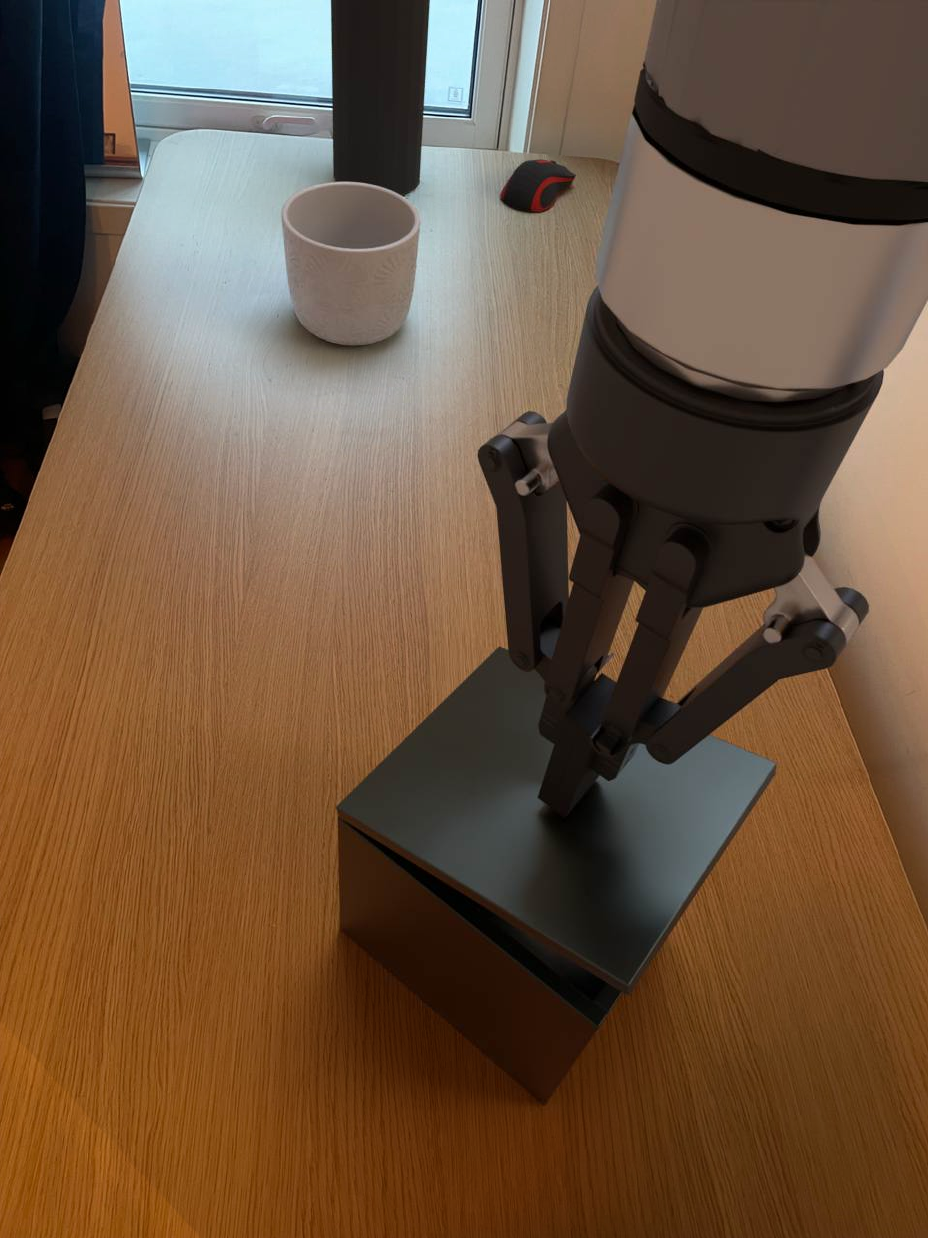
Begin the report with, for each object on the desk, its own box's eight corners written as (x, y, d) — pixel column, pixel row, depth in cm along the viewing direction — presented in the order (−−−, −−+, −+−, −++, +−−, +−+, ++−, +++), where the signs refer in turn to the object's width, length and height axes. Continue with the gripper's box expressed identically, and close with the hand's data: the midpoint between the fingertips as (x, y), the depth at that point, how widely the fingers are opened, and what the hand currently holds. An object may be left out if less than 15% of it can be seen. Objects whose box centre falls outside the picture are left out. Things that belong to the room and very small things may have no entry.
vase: (339, 199, 107) (336, -127, 84) (327, 157, 113) (321, -158, 90) (427, 197, 109) (448, -122, 86) (410, 156, 115) (425, -152, 92)
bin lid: (776, 774, 42) (777, 762, 41) (628, 997, 35) (628, 986, 34) (500, 656, 50) (499, 645, 50) (338, 817, 43) (334, 806, 43)
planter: (278, 290, 94) (271, 183, 86) (397, 282, 97) (402, 177, 89) (299, 364, 87) (293, 255, 79) (428, 352, 90) (435, 246, 82)
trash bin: (664, 926, 56) (738, 818, 45) (544, 1106, 49) (598, 1029, 38) (472, 783, 61) (498, 656, 50) (339, 929, 54) (336, 817, 43)
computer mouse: (579, 183, 115) (586, 150, 112) (538, 217, 109) (543, 183, 106) (535, 167, 117) (540, 134, 114) (491, 199, 110) (495, 165, 107)
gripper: (1046, 364, 23) (737, 817, 41) (603, 170, 27) (501, 656, 45) (941, 522, 19) (650, 947, 37) (440, 264, 23) (400, 757, 41)
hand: (568, 786), depth 41 cm, fingers closed
